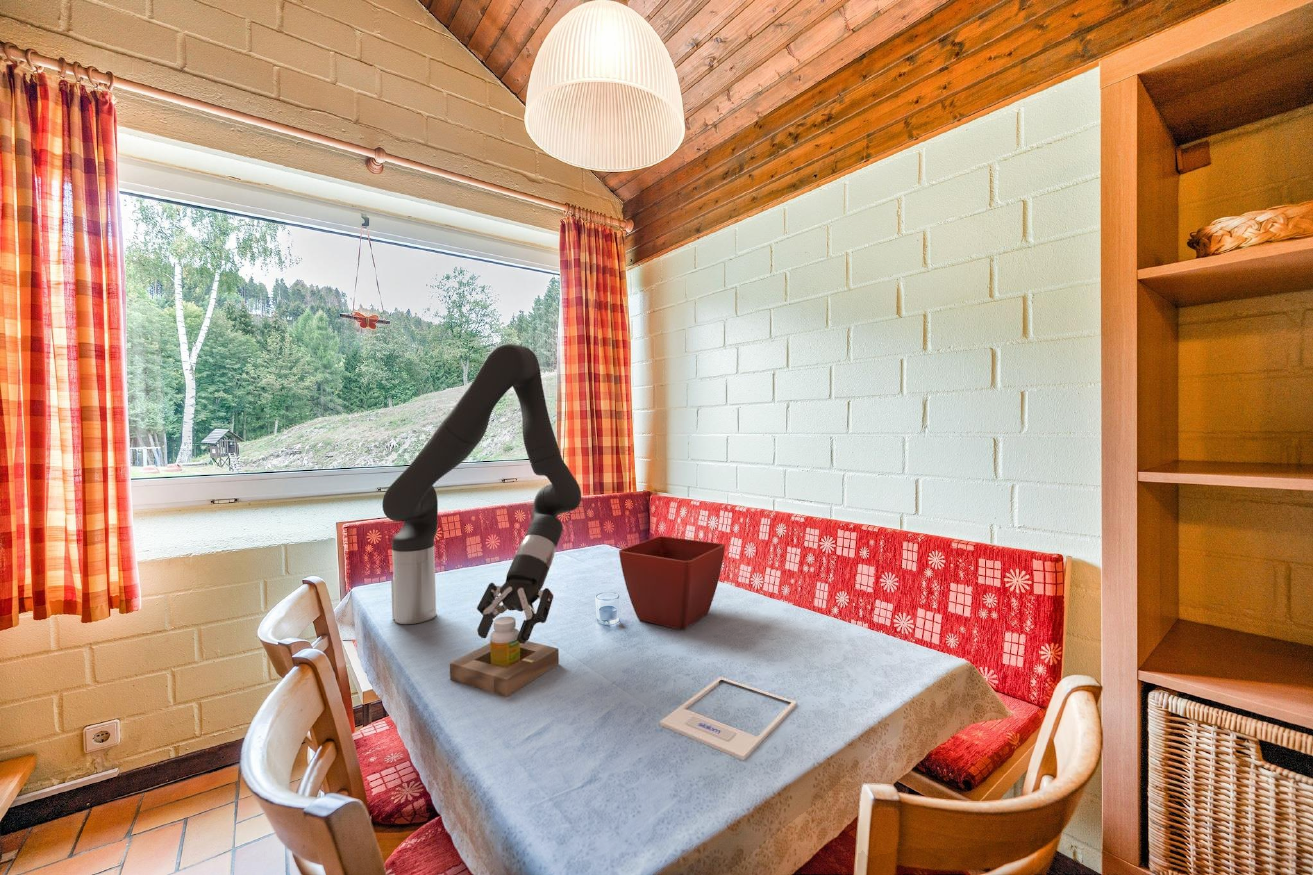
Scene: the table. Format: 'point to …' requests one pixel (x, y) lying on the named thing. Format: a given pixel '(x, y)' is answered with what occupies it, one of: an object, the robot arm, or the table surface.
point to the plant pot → (672, 579)
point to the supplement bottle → (504, 643)
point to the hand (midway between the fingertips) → (500, 639)
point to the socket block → (501, 680)
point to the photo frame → (719, 726)
